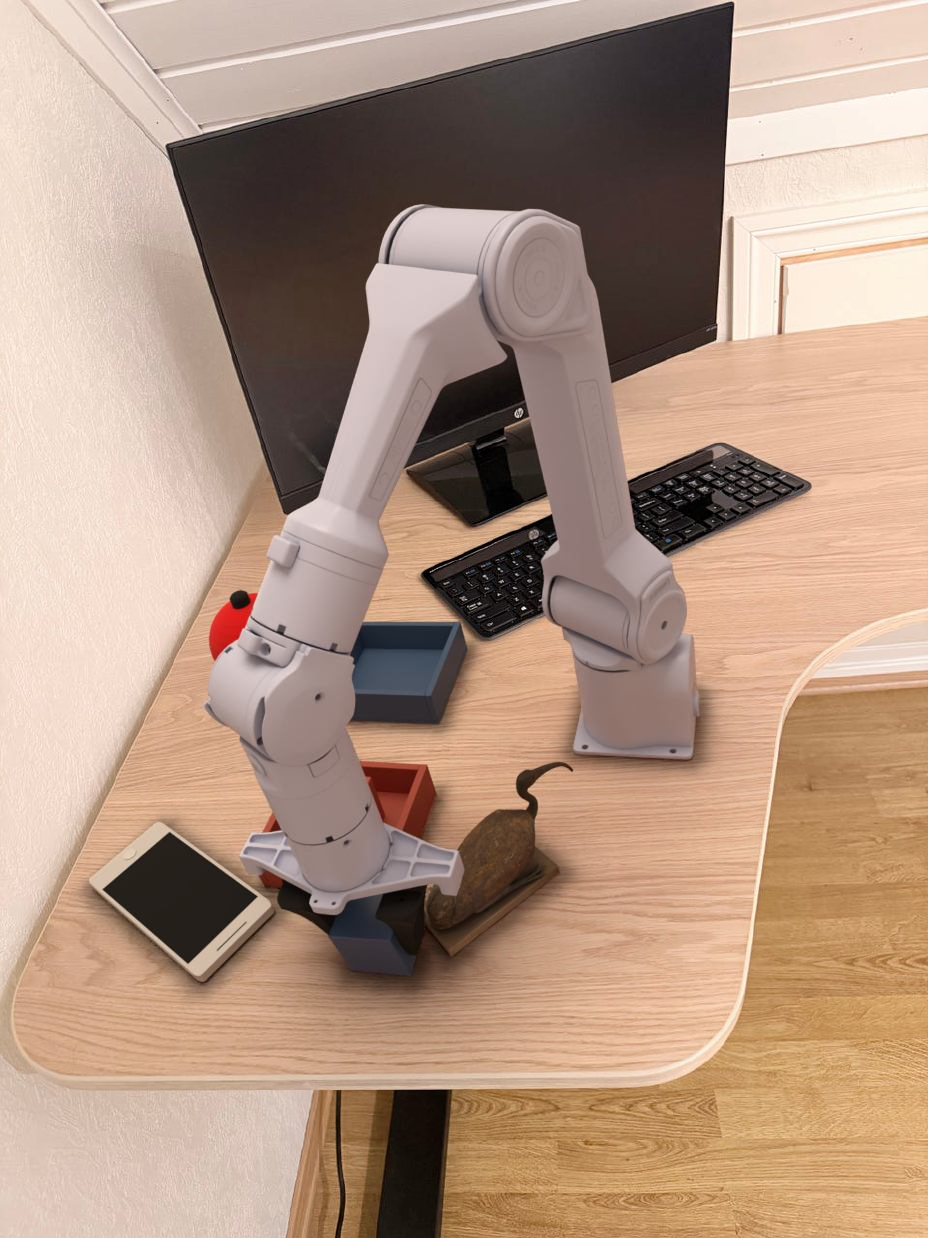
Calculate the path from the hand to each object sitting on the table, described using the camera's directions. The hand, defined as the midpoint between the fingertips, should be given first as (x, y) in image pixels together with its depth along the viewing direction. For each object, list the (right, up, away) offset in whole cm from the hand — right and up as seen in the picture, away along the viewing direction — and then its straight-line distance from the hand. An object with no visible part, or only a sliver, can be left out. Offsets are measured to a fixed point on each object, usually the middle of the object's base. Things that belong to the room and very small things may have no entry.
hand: (381, 937), depth 63 cm
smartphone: (-16, 0, +8) cm, 18 cm away
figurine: (+9, +3, +4) cm, 10 cm away
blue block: (0, -1, +1) cm, 1 cm away
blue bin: (-1, +16, +23) cm, 28 cm away
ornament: (-14, +16, +29) cm, 36 cm away
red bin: (-3, +5, +9) cm, 11 cm away
